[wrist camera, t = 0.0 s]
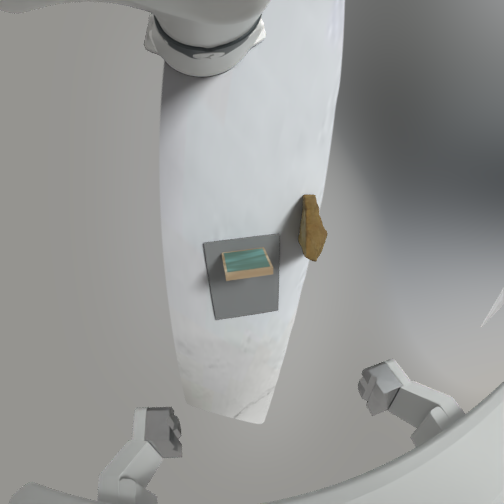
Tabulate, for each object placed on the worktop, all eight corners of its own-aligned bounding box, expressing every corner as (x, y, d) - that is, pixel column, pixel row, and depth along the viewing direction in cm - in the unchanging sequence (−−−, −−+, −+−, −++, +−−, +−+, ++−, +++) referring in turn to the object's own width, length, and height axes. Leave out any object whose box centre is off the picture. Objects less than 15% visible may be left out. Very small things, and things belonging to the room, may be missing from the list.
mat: (203, 242, 49) (203, 243, 49) (278, 233, 51) (279, 234, 50) (215, 318, 59) (216, 319, 58) (277, 309, 60) (278, 310, 60)
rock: (296, 186, 44) (272, 239, 47) (341, 207, 40) (313, 263, 43) (319, 197, 53) (298, 241, 56) (355, 215, 49) (333, 261, 52)
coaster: (221, 252, 50) (225, 273, 44) (264, 246, 51) (273, 267, 45) (222, 259, 51) (226, 281, 45) (264, 253, 52) (273, 274, 46)
